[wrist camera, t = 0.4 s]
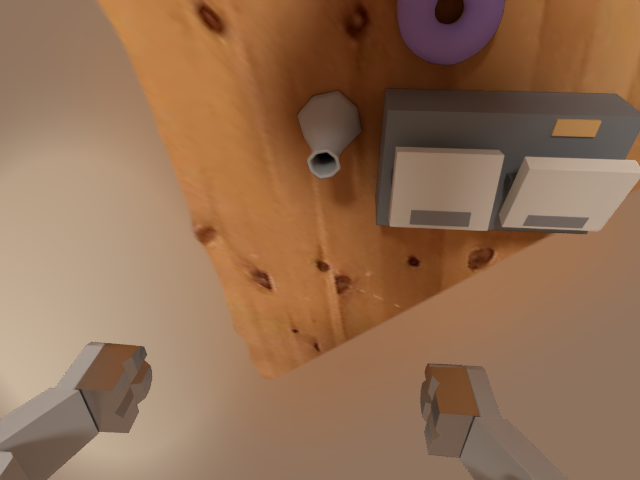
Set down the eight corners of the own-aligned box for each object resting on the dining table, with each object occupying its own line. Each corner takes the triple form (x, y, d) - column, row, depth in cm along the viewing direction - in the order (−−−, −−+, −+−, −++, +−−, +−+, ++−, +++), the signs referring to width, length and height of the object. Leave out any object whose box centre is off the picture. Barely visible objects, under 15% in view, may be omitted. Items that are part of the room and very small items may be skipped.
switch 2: (525, 156, 39) (529, 169, 38) (635, 160, 39) (644, 173, 37) (498, 214, 45) (502, 227, 44) (593, 218, 45) (599, 231, 44)
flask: (372, 132, 48) (374, 176, 41) (320, 160, 51) (312, 206, 44) (340, 78, 45) (336, 115, 37) (286, 111, 48) (271, 152, 40)
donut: (524, 2, 39) (530, 22, 36) (442, 68, 45) (440, 91, 42) (459, -90, 35) (459, -76, 32) (378, -4, 41) (372, 15, 38)
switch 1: (395, 146, 41) (397, 151, 40) (498, 149, 41) (504, 155, 39) (388, 219, 45) (389, 226, 43) (482, 223, 44) (487, 231, 43)
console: (385, 88, 45) (388, 116, 39) (616, 93, 44) (656, 124, 38) (375, 198, 54) (376, 234, 48) (566, 205, 52) (591, 244, 47)
